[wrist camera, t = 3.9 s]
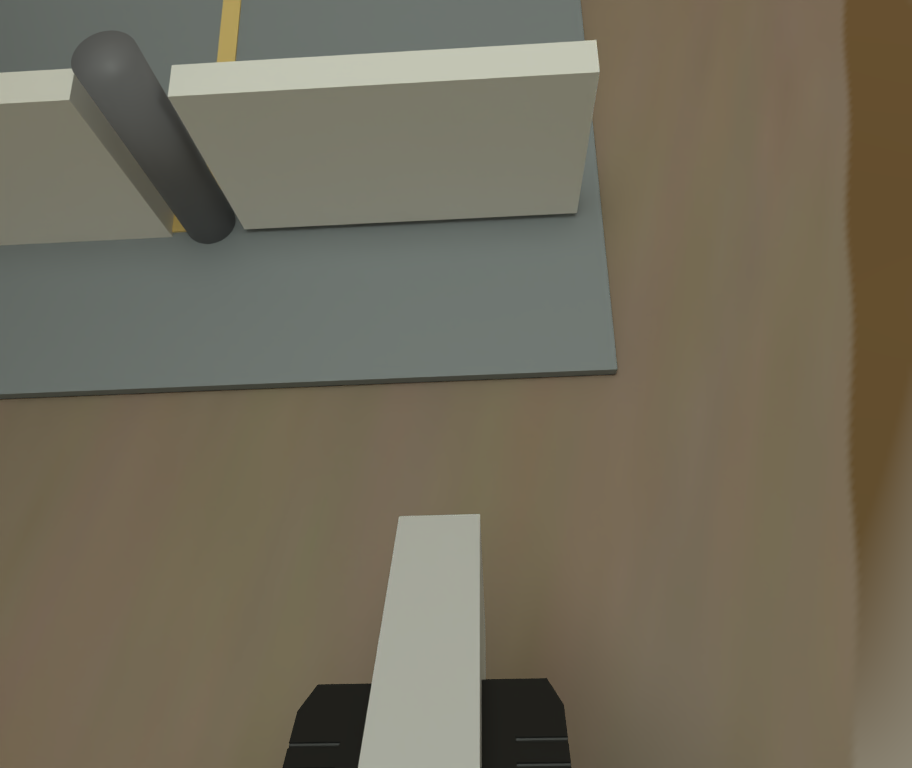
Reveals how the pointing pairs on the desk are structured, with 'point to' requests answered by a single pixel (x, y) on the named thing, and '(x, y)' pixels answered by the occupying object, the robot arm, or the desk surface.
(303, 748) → the robot arm
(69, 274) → the card
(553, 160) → the hinged panel
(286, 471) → the desk surface
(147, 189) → the fence
